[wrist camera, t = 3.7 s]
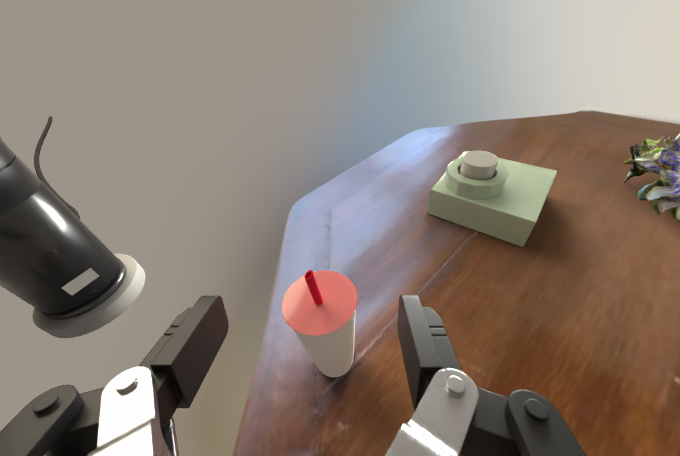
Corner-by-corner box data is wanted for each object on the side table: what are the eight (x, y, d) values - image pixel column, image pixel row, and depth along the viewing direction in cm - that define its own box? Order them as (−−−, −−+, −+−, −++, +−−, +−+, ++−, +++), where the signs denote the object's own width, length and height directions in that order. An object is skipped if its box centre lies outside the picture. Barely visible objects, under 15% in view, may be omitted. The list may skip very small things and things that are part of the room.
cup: (301, 389, 23) (260, 308, 16) (309, 331, 27) (279, 243, 20) (365, 390, 23) (354, 305, 15) (363, 329, 27) (354, 239, 19)
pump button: (454, 176, 35) (457, 161, 33) (466, 162, 37) (469, 147, 35) (487, 185, 33) (492, 170, 31) (497, 169, 35) (502, 155, 33)
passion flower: (645, 246, 37) (666, 209, 29) (586, 190, 44) (588, 147, 35) (759, 201, 33) (823, 141, 24) (675, 146, 39) (701, 84, 31)
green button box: (427, 213, 38) (432, 176, 34) (459, 173, 45) (467, 138, 41) (523, 247, 32) (543, 207, 28) (545, 195, 39) (564, 157, 35)
